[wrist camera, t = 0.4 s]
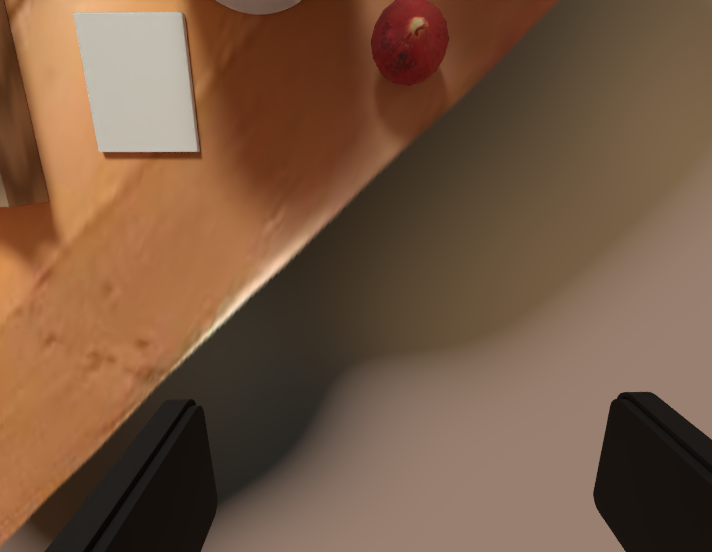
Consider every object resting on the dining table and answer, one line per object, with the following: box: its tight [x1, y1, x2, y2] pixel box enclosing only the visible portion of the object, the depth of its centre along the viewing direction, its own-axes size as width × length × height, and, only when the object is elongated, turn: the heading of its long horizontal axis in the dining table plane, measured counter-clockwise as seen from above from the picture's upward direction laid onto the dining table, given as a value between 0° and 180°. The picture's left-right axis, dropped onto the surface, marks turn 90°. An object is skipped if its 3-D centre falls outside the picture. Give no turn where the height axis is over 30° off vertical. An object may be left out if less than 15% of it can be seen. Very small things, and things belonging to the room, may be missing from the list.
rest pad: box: [73, 12, 200, 152], centre depth 34 cm, size 11×9×1 cm
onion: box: [371, 0, 449, 85], centre depth 30 cm, size 6×6×8 cm
